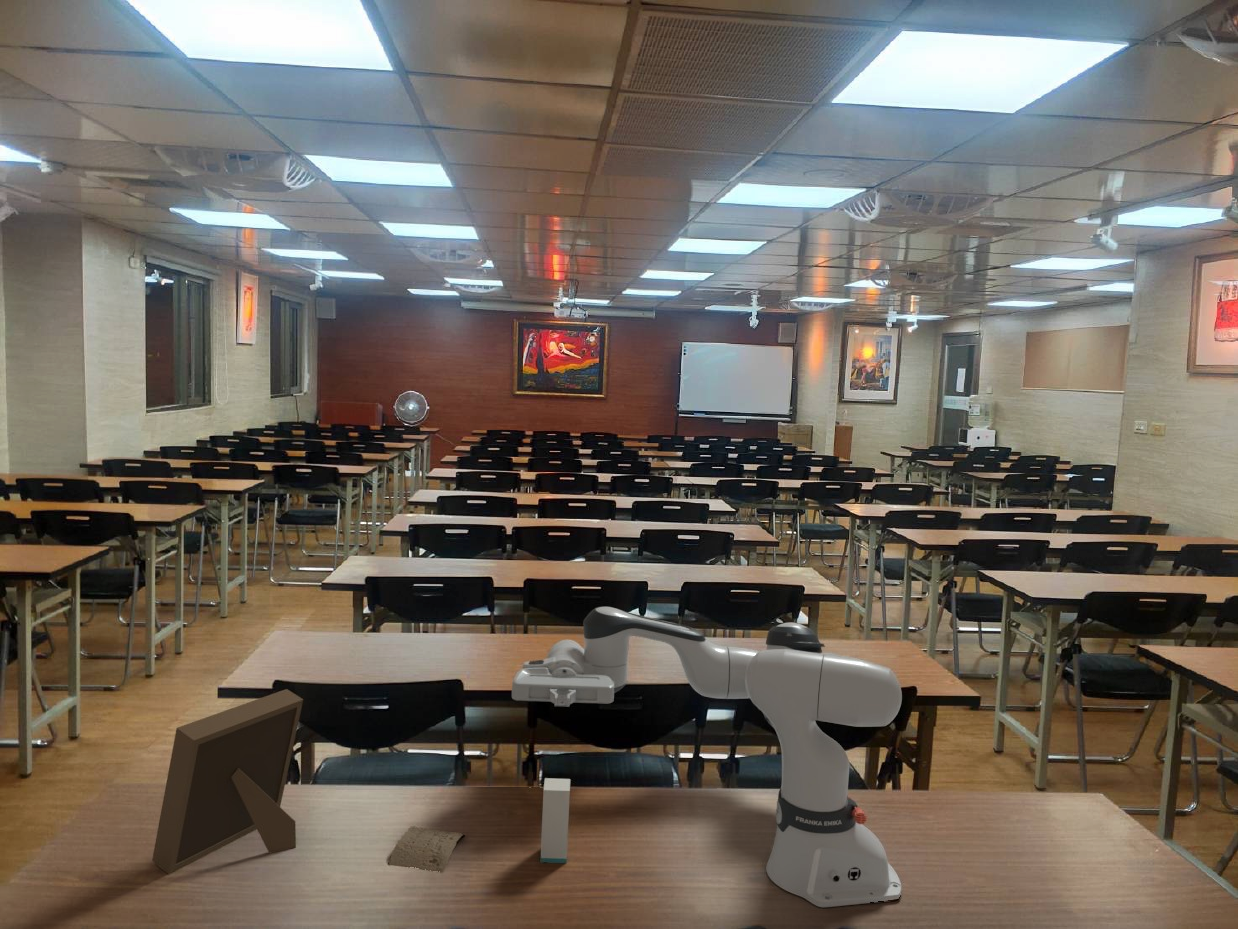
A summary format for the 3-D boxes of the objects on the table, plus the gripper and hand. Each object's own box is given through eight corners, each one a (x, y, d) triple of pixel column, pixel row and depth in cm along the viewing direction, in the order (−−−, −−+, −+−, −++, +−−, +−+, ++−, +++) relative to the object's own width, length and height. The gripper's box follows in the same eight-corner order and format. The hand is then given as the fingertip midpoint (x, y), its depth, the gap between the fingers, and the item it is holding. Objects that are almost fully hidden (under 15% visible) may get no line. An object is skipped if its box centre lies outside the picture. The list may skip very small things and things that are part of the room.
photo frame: (152, 866, 142) (154, 719, 139) (261, 812, 161) (265, 682, 159) (212, 895, 135) (215, 742, 133) (319, 835, 154) (323, 700, 152)
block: (567, 849, 153) (570, 779, 152) (566, 863, 149) (569, 791, 148) (541, 848, 153) (544, 778, 152) (540, 862, 149) (543, 790, 148)
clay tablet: (416, 828, 159) (417, 813, 159) (469, 834, 158) (470, 819, 158) (384, 871, 145) (385, 856, 144) (443, 879, 143) (443, 863, 143)
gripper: (613, 694, 179) (615, 720, 165) (514, 691, 178) (508, 716, 164) (615, 665, 178) (617, 688, 164) (516, 661, 177) (509, 684, 164)
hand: (562, 702), depth 164 cm, fingers closed
